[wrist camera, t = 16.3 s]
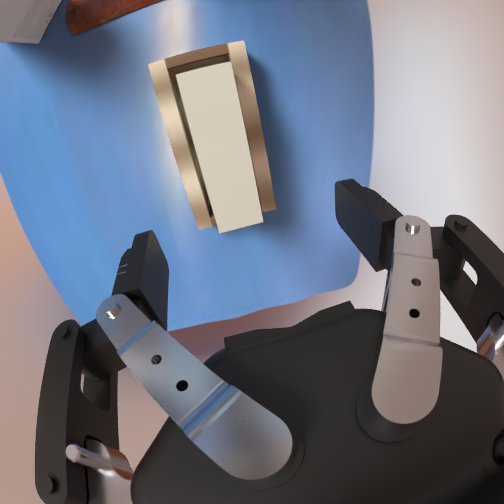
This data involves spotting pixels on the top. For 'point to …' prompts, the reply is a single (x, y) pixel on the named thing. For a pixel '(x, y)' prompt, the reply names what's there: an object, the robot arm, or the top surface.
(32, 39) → the small box
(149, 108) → the top surface
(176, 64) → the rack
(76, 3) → the wooden tablet
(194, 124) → the strip
